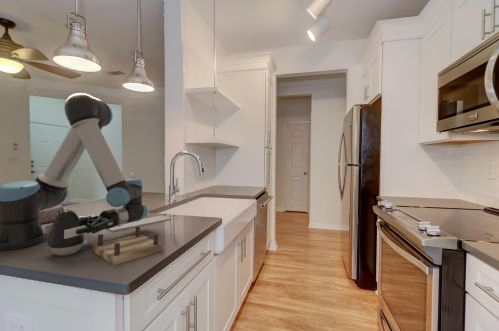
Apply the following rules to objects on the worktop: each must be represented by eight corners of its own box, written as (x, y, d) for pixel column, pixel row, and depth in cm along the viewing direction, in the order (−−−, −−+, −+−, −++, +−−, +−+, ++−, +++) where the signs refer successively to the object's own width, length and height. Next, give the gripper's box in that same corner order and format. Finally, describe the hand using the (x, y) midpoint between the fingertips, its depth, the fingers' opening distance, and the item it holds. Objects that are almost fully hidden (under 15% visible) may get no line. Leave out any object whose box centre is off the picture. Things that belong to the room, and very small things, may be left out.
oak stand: (93, 251, 89) (93, 235, 88) (139, 240, 102) (139, 225, 102) (113, 265, 78) (113, 246, 78) (162, 250, 91) (162, 234, 91)
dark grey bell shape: (75, 245, 94) (75, 206, 94) (90, 251, 89) (90, 209, 88) (42, 254, 85) (42, 210, 85) (56, 261, 80) (56, 214, 80)
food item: (33, 226, 117) (33, 206, 117) (25, 224, 121) (25, 204, 120) (65, 220, 129) (65, 202, 129) (57, 218, 133) (57, 200, 133)
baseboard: (100, 228, 119) (112, 233, 111) (100, 222, 119) (112, 227, 111) (158, 217, 143) (171, 220, 136) (158, 212, 143) (171, 215, 136)
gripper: (133, 230, 99) (76, 248, 79) (94, 223, 108) (34, 237, 88) (133, 212, 98) (76, 225, 78) (94, 206, 108) (34, 216, 88)
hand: (54, 231), depth 83 cm, fingers open, 11 cm apart
